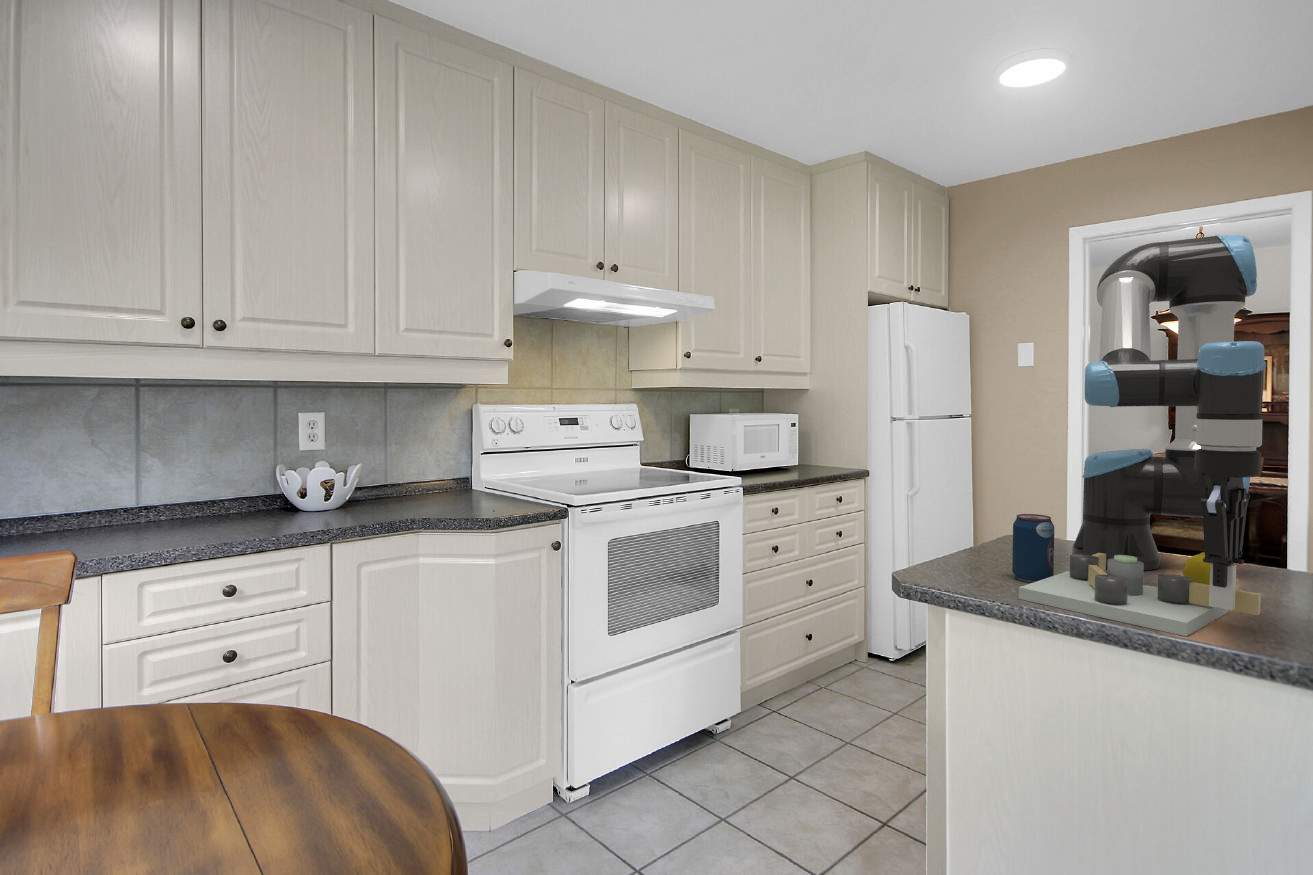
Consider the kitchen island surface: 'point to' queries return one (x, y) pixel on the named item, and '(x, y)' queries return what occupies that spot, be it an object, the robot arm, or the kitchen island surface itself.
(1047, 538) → the soda can
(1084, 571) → the knob
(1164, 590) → the knob
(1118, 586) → the front knob
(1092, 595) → the plate
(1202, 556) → the lemon
